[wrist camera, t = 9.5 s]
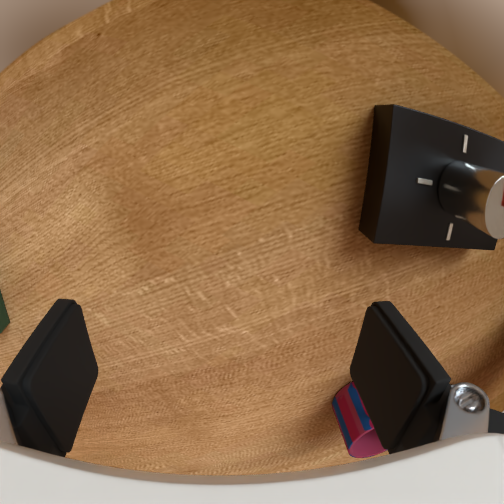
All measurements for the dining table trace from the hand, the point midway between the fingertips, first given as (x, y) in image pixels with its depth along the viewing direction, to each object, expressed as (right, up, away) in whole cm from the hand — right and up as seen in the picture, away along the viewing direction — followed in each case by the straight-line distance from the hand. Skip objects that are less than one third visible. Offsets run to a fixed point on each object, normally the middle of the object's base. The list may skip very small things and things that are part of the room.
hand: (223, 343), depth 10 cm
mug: (+13, -12, +22) cm, 28 cm away
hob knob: (+17, +8, +11) cm, 22 cm away
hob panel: (+17, +9, +14) cm, 23 cm away
